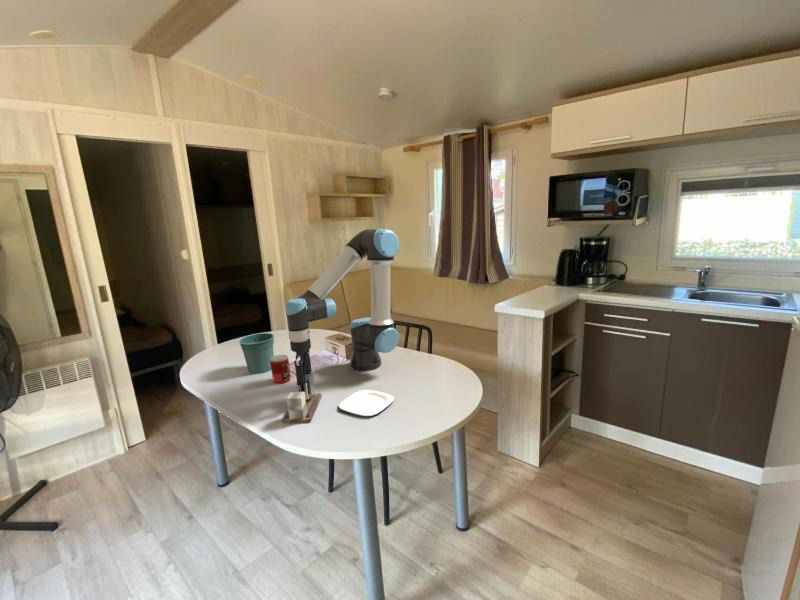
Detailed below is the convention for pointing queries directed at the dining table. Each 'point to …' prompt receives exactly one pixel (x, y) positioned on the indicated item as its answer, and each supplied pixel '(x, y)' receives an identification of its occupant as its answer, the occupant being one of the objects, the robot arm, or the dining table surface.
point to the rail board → (308, 404)
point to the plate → (366, 402)
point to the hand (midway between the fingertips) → (306, 395)
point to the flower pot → (258, 351)
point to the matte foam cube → (309, 385)
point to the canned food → (280, 369)
